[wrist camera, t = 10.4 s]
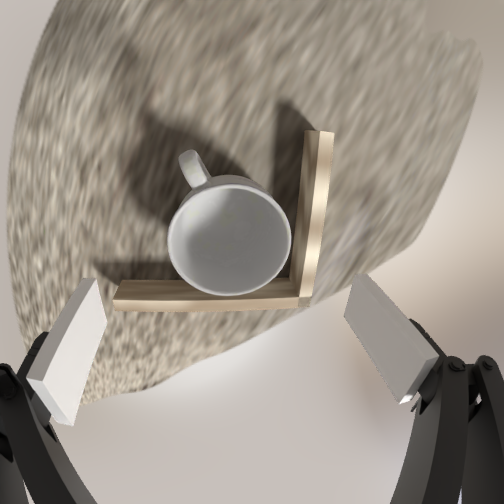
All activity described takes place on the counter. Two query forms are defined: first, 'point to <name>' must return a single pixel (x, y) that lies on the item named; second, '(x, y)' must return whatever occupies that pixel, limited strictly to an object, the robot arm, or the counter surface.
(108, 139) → the counter surface
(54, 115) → the counter surface
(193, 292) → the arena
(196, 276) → the teacup
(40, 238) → the counter surface
